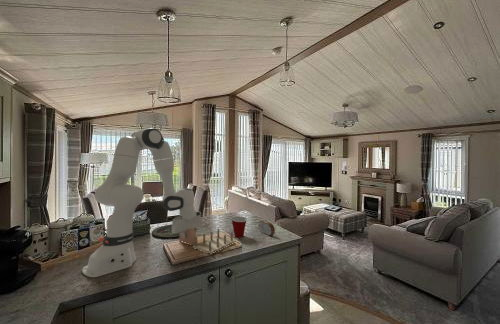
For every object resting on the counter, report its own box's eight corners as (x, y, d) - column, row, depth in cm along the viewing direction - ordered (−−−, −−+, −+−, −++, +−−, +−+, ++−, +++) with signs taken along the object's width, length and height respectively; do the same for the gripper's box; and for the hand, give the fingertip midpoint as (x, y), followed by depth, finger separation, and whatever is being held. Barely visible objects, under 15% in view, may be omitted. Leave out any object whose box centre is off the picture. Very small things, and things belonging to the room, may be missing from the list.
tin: (275, 236, 149) (275, 223, 149) (271, 237, 147) (271, 224, 147) (261, 230, 162) (261, 218, 162) (257, 231, 160) (257, 219, 160)
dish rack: (211, 254, 122) (211, 242, 122) (192, 248, 131) (192, 237, 130) (235, 243, 138) (235, 232, 138) (217, 238, 147) (217, 228, 147)
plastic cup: (242, 240, 143) (241, 221, 143) (227, 237, 148) (227, 219, 148) (250, 235, 152) (250, 217, 152) (237, 232, 158) (236, 215, 157)
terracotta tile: (192, 245, 135) (192, 230, 135) (179, 241, 142) (179, 227, 142) (195, 244, 137) (195, 229, 137) (182, 240, 144) (182, 226, 144)
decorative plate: (143, 236, 146) (162, 223, 176) (143, 239, 146) (162, 225, 176) (189, 237, 146) (200, 223, 176) (189, 240, 146) (200, 225, 176)
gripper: (175, 218, 129) (176, 243, 129) (203, 211, 145) (203, 233, 146) (169, 217, 132) (169, 241, 133) (196, 210, 149) (196, 231, 149)
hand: (187, 237), depth 139 cm, fingers closed on terracotta tile, 2 cm apart
